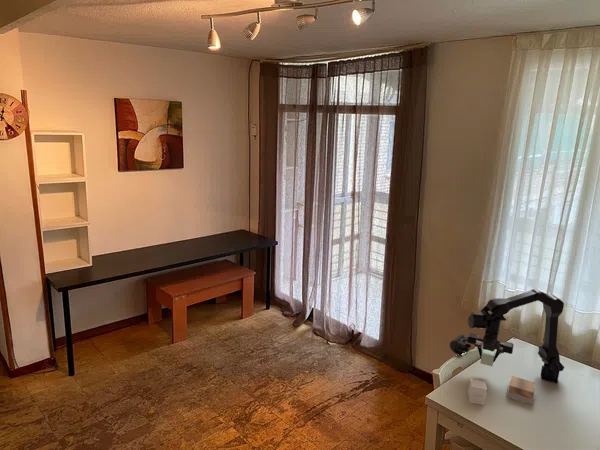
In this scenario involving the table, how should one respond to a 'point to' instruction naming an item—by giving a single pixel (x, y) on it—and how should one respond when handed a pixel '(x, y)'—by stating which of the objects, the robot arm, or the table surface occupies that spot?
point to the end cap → (460, 345)
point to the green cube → (487, 357)
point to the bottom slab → (520, 397)
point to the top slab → (522, 387)
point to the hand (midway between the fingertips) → (487, 360)
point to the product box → (477, 392)
